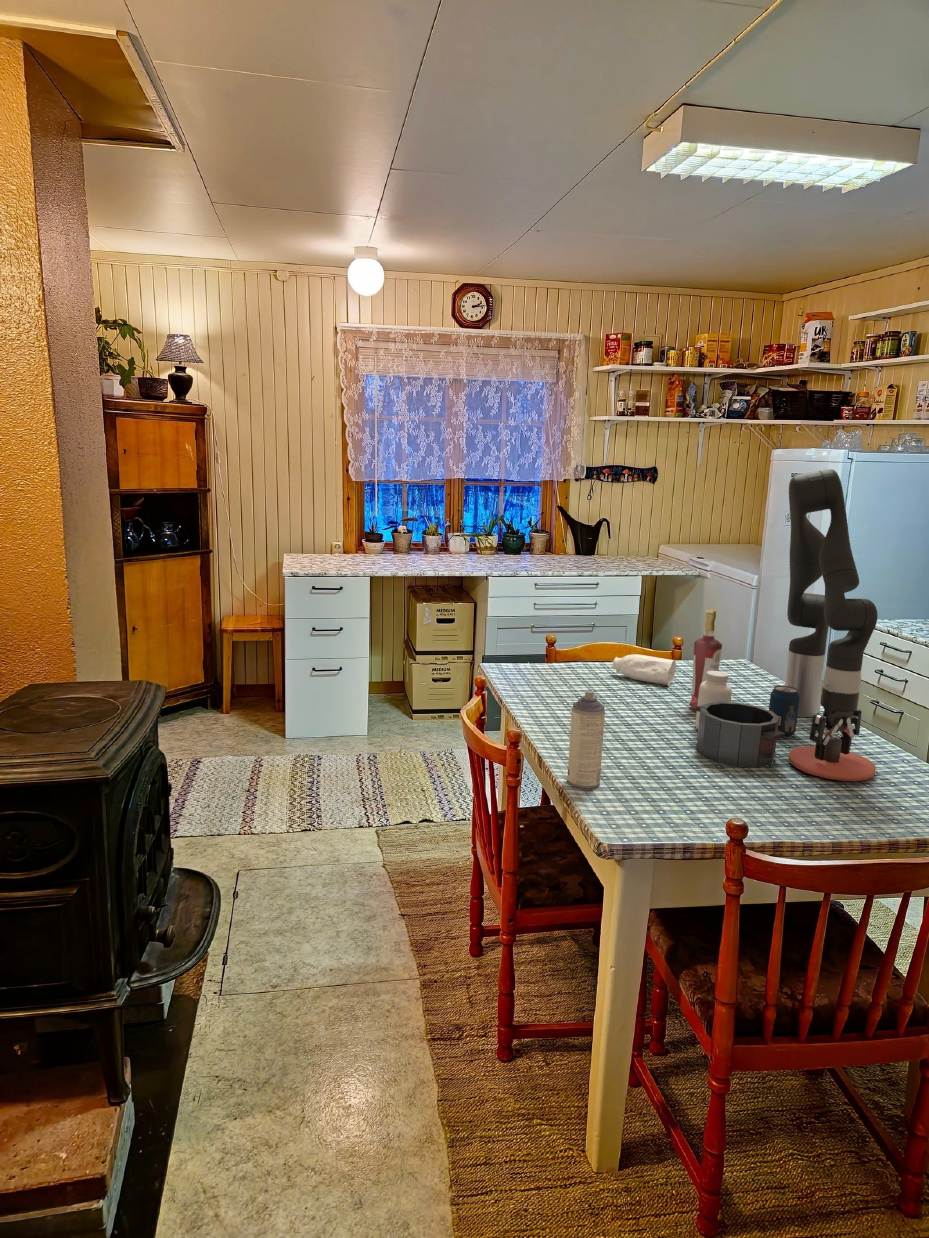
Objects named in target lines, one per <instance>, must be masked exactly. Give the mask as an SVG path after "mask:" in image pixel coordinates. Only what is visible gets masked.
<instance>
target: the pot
mask: <svg viewBox="0 0 929 1238" xmlns="http://www.w3.org/2000/svg"><path fill="white" fill-rule="evenodd" d="M697 711H699V712H700V717H699V728H698V729H697V741H696V750H697V752H698V753H699V755H700V756H701V757H703V758H705V759H707V760H709V761H712V762H714V763H716V764H721V765H726V766H730V767H736V768H747V769H748V768H753V769H754V768H755V769H757V768H762V767H767V766H771V765H772V763H773V762H774V760H775V759H776V758H775V757H776V751H777V750H776V749H777V741H778V740H780V739H786V738H785V734H786V733H783V732H780V731H778V726H779V717H778V716H777V715H776V714H775V713H774V712H772V711H770V710H769V709H767V708H764V707H761V706H758V705H753V704H748V703H744V702H743V703H742V702H734V701H733V702H732V701H731V702H715V703H709V704H705V705H702V706H696V711H695V712H697Z"/></svg>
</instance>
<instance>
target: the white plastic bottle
mask: <svg viewBox="0 0 929 1238" xmlns="http://www.w3.org/2000/svg"><path fill="white" fill-rule="evenodd" d="M612 668H613V669H614V670H615V673H621V674H622V675H623V676H625V677H627V678H630V679H632V680H633V679H634V680H635V681H640V682H646V683H652V684H657V685H662V686H669V687H670V685H671V683H672V682H673V681H674V680H675V677H676V676H675V674H676V671H677V663H676V660H675V659H668V658H662V657H656V656H650V655H644V654H638V653H635V654H628V655H627V654H626V655H625V656H622V657H618V656H615V658H614V659H613V661H612ZM668 684H670V685H668Z"/></svg>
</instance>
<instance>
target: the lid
mask: <svg viewBox="0 0 929 1238" xmlns="http://www.w3.org/2000/svg"><path fill="white" fill-rule="evenodd" d="M826 745H827V750H826V757H825V760H822V761H821V760H819V759H816V758H815V747H816V745H804V746H798V747H794V748H792V749H790V750H789V752H788V762H789V763H790V764H791V765H792V766H793V767H794V768H796V769H799V770H800V771H802V772H804V773H808V774H809V775H812V776H816V777H820V778H825V779H828V780H829V779H830V780H836V781H845V782H859V781H860V782H861V781H866V780H870V779H872V778H874V777H875V775H876V771H877V767H876V765H875V764H874V762H872V760H870V759H868V758H867V757H865V756H862V755H860V754H857V753H854V752H851V751H850V753H849V754H843V753H840V752H841V745H842V740H841V737H838V736H833V737H831V738H830V739H829V741H828V742H827V744H826Z"/></svg>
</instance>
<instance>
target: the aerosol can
mask: <svg viewBox="0 0 929 1238" xmlns="http://www.w3.org/2000/svg"><path fill="white" fill-rule="evenodd" d="M584 692H585V693H584V695H583V696H581V698H579V699H578V700H577V701H576V702H574V703H572V707H571V713H570V714H571V715H570V731H569V733H570V734H569V749H568V760H567V762H568V763H567V764H568V765H567V777H566V778H567V780H566V781H567V782H568V783H569V784H568V783H567V784H568V785H569V786H570V785H571V786H570V787H572V786H573V787H572V788H575V789H578V788H580V789H579V790H586V789H588V790H594V789H597V788H599V787H600V786H601V776H602V775H601V772H602V761H603V759H602V758H603V747H604V746H603V744H604V733H605V720H606V719H605V718H606V717H605V716H606V710H605V708H606V707H605V705H603V704H602V703H601V701H600V700H598V699H597V697H595V692H594V691H593V690H585V691H584Z"/></svg>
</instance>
